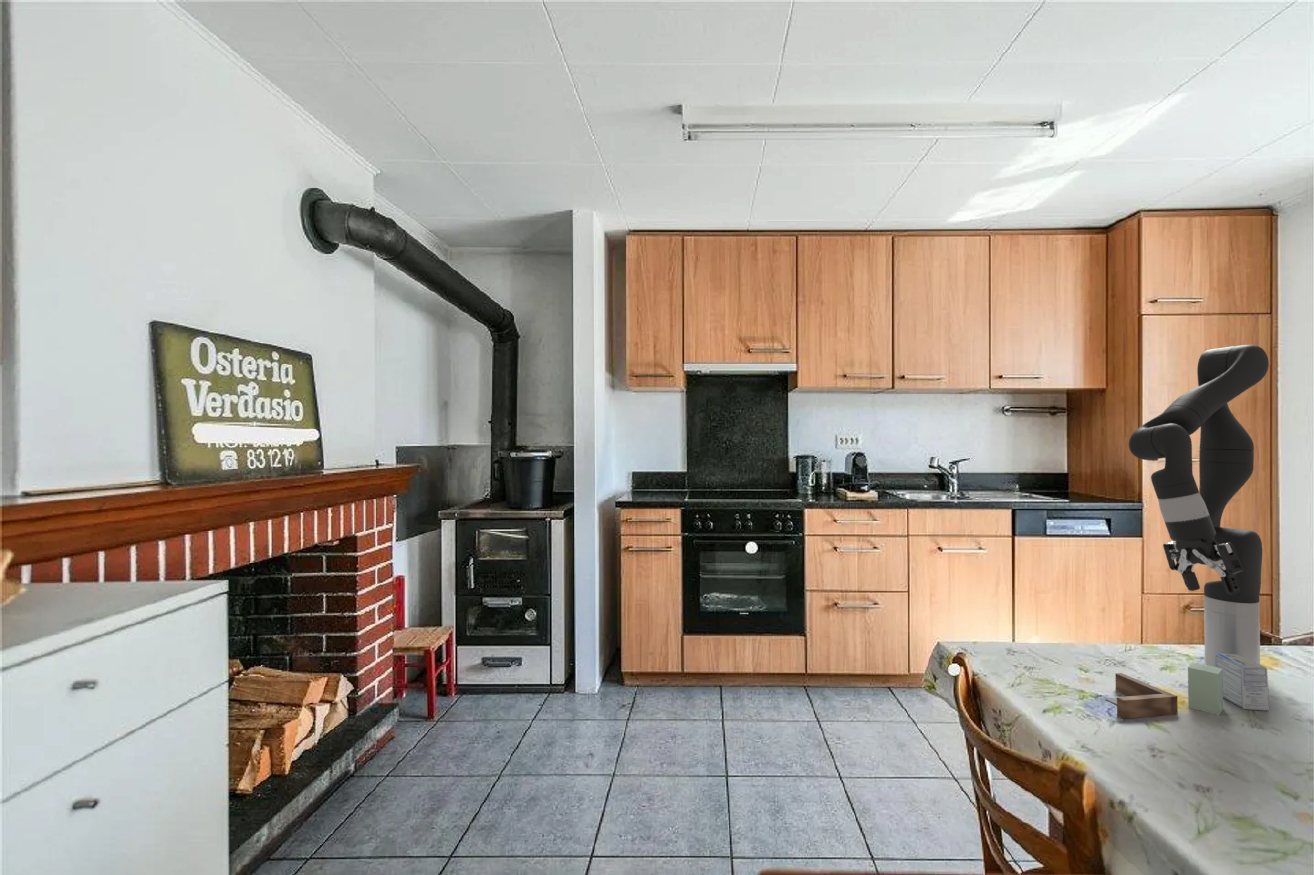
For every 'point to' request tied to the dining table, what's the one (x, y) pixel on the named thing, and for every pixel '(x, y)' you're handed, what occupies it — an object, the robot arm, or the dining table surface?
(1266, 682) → the medicine box
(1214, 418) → the robot arm
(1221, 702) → the sage block
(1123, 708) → the walnut corner
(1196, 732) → the dining table surface
